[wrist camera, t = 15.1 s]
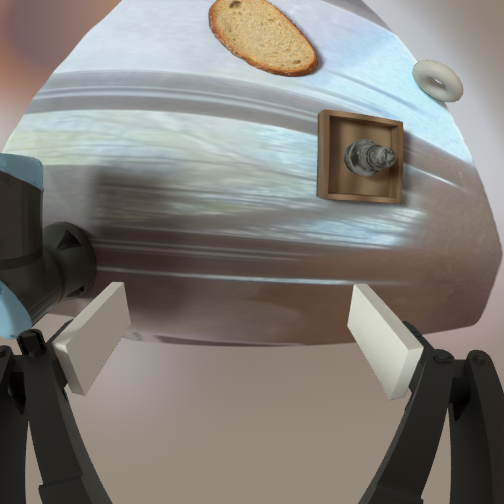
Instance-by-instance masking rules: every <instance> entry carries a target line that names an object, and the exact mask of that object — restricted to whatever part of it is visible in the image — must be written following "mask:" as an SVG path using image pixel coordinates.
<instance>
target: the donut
mask: <svg viewBox="0 0 504 504" xmlns="http://www.w3.org/2000/svg"><path fill="white" fill-rule="evenodd" d="M412 73H413V77H414V80H415V81H416V83H417V84H418V86H419V87H420V88H421V89H422V90H423V91H425V92H426V93H427V94H429V95H430V96H432V97H434V98H436V99H438V100H441V101H444V102H455V101H458V100H459V99H460V98H461V96H462V95H463V85H462V83H461V81H460V79H459V77H457V75H456V74H455V73H454V71H452V70H451V69H450V68H448V67H447V66H445V65H444V64H442V63H439V62H436V61H433V60H422V61H419V62H417V63H416V64H415V65H414V67H413V72H412ZM434 79H436V80H438V81H440V82H441V83H442V84H440V83H438V82H437V81H435V80H434ZM443 84H444V85H443Z"/></svg>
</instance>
